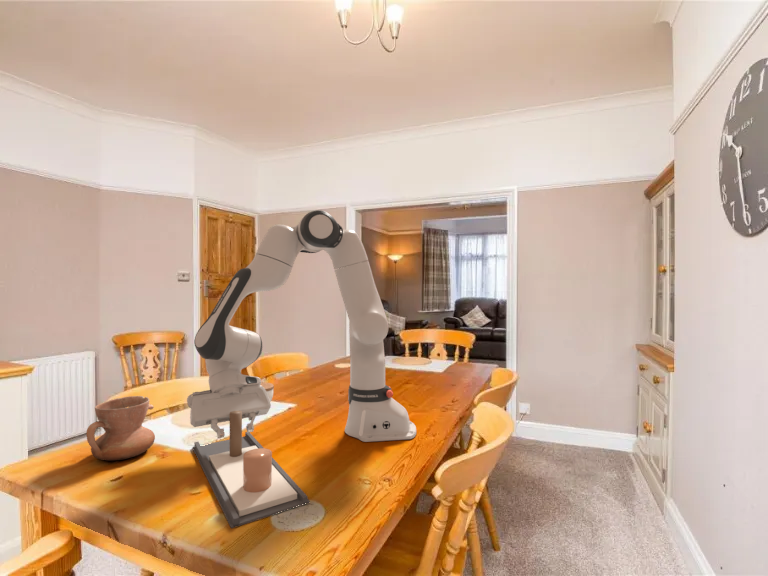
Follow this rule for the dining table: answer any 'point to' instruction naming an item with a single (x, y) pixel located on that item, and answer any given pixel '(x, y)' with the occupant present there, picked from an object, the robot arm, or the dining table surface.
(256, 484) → the pink pillar candle
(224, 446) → the grey rimmed tray
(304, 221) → the robot arm
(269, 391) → the lidded jar
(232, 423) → the wooden peg stand
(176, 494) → the dining table surface
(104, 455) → the ceramic jug
